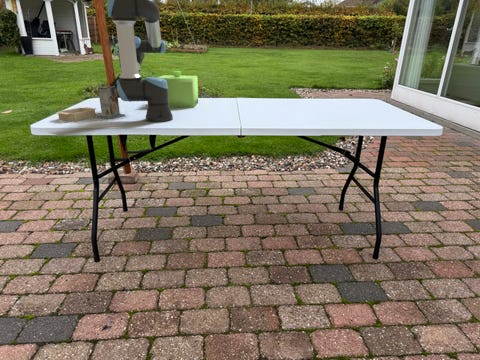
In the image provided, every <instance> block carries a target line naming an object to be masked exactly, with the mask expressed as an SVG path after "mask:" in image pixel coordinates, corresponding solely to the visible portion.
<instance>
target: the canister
mask: <svg viewBox="0 0 480 360" xmlns="http://www.w3.org/2000/svg"><path fill="white" fill-rule="evenodd" d="M172 74H173V75H166V74H165V75H164V74H163V75H161V76H158V77H157V78H162V79H165V80H166V81H167V86H168V101H169V108H187V109H188V108H193V109H194V108H195V107H196V106H197V105H198V103H199V86H198V80H199V79H198V76H197V75H182V71H181V70H180V71H179V70H174V71H172Z"/></svg>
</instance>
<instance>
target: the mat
mask: <svg viewBox="0 0 480 360" xmlns="http://www.w3.org/2000/svg"><path fill="white" fill-rule="evenodd" d="M96 117H97V119H103V118H104V119H103V120H109V119H110V120H113V119H118V118H122V117H126V114H125V113H120V114H118V115H115V116H112V117H108V116H102V114H100V115H96Z"/></svg>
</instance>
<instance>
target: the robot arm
mask: <svg viewBox="0 0 480 360" xmlns="http://www.w3.org/2000/svg"><path fill="white" fill-rule="evenodd" d="M106 3H107V15H108V17H109V18H111V20H112V22H113V24H115V27H116V36H117V44H118V52H119V55H118V56H119V61H120V72H121V73H119V74H118V75H117V77H115V79H114V80H113V81H112V82H111V83H110V84H109V85H110V87H117V94H118V96H119V98H120V99H121V100H122V101H123V102H130V103H131V102H147V108H146V109H147V110H146V114H145V121H147V122H150V123H151V122H154V123H155V122H156V123H161V122H162V123H163V122H169V121H172V120H173V114H172V111H171V107H169V101H168V86H167V81H166V80H165V79H162V78H158V77H156V76H146V77H145V78H144V79H142V75H141V74H140V73H139V72H140V71H139V70H140V68H141V67H142V63H143V61H144V59H145V57H146V54H165V53H166V48H167V47H166V41H165V40H163V39H162V35H161V28H160V26H161V25H160V18H161V12H160V9H159V6H158V4H157V3H156V1H155V0H107V2H106ZM139 18H142V20H143V21H144V24H145V29H146V35H147V39H141V38H140V37H138V36H136V35H135V29H134V25H135V24H136V22H137V19H139Z"/></svg>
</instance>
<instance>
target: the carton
mask: <svg viewBox="0 0 480 360" xmlns="http://www.w3.org/2000/svg"><path fill="white" fill-rule="evenodd" d="M96 110H97V108H96V107H88V106H86V107H76V108H70V109H66V110H58V111H57V112H55V114H58V120H61V121H65V122H71V123H75V122H79V121H84V119H85V120H88V119H89V118H90V119H94V118H96V117H97V115H96ZM90 119H89V120H90Z"/></svg>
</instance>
